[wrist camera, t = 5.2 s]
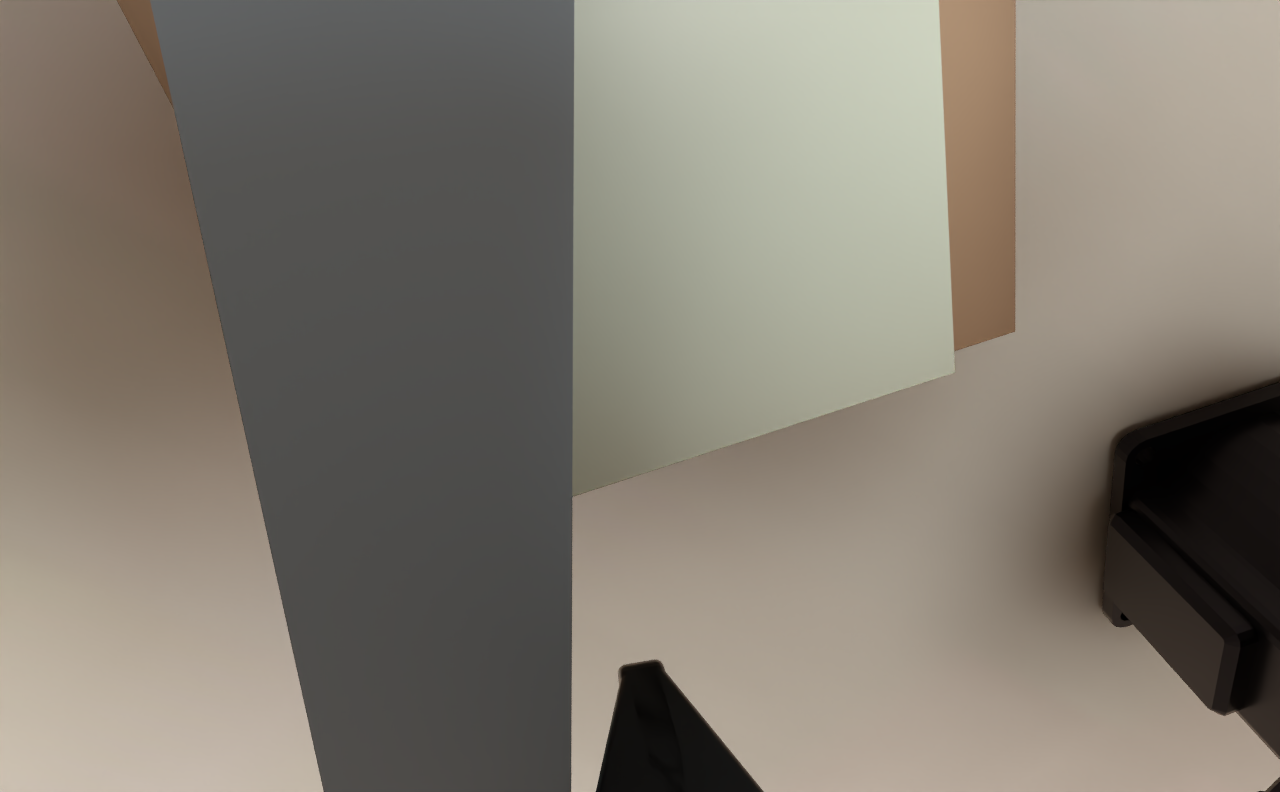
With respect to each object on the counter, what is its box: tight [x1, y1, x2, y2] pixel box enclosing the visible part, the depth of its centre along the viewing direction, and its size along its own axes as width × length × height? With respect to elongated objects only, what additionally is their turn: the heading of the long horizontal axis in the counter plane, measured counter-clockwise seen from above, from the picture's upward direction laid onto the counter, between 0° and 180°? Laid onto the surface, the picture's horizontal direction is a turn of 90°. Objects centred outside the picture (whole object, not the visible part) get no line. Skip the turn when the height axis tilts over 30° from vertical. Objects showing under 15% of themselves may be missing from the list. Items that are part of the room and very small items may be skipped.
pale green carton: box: [572, 0, 955, 497], centre depth 10 cm, size 5×6×3 cm
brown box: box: [117, 0, 1015, 351], centre depth 13 cm, size 10×10×4 cm
